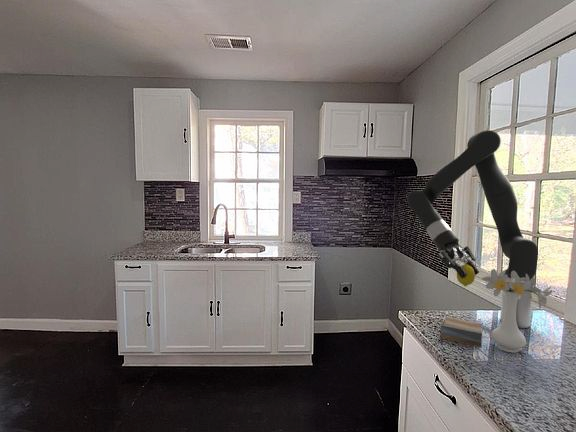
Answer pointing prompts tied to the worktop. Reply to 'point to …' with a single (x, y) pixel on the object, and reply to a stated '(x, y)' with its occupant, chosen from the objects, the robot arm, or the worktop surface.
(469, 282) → the lemon
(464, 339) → the stop board
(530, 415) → the worktop surface
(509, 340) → the flower vase
